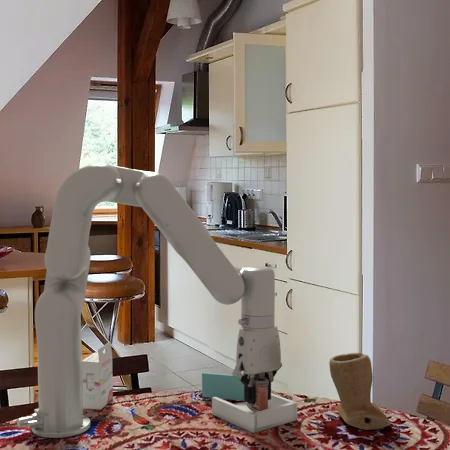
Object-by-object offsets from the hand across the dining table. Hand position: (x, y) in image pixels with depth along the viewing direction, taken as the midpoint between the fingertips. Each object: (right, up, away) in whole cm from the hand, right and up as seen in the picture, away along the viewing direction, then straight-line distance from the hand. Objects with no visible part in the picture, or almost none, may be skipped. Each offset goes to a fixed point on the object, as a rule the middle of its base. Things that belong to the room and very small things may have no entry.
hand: (257, 399), depth 158 cm
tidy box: (-1, -4, +2) cm, 5 cm away
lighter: (0, -2, 0) cm, 2 cm away
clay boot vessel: (+22, -5, -1) cm, 23 cm away
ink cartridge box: (-39, -4, +12) cm, 40 cm away
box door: (-7, -3, +14) cm, 16 cm away
